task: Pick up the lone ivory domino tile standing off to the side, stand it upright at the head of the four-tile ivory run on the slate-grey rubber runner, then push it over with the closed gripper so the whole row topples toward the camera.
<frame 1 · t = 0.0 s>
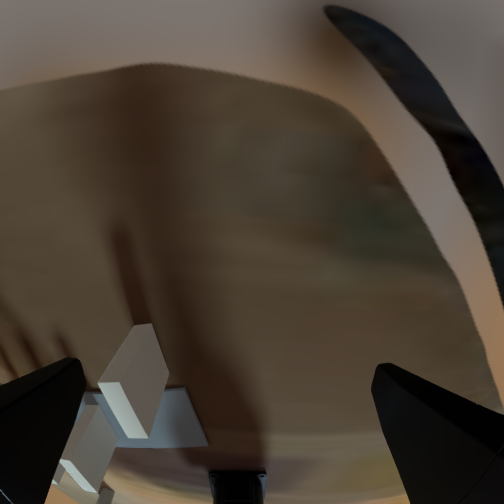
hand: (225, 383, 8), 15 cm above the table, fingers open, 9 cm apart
lighter: (105, 495, 31), on the table
tile 1: (102, 422, 26), resting on runner
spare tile: (152, 350, 24), on the table
runner: (73, 418, 26), on the table
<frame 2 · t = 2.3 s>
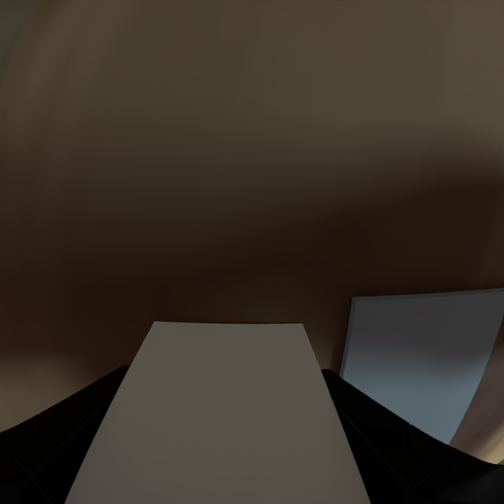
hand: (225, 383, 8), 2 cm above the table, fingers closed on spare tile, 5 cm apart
lighter: (503, 468, 16), on the table
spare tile: (227, 344, 10), on the table, touching gripper
runner: (362, 502, 14), on the table
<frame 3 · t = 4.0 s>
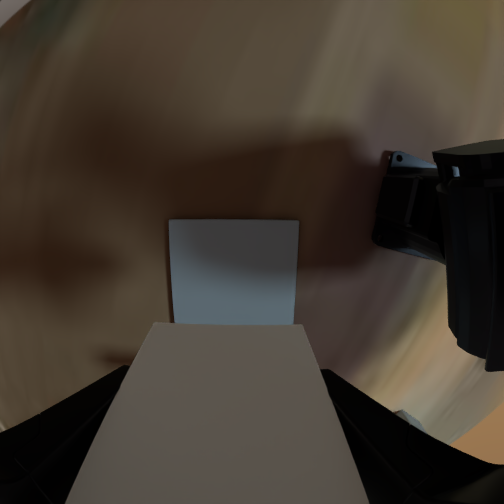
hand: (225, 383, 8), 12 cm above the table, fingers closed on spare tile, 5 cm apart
lighter: (410, 424, 25), on the table
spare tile: (227, 345, 10), point 10 cm above the table, touching gripper
runner: (234, 407, 23), on the table
when the fingers open (4 cm above the table, at t = 5.9 s): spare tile stays where it is, resting on runner.
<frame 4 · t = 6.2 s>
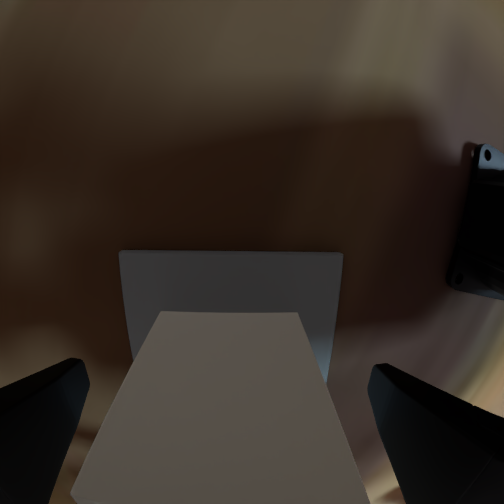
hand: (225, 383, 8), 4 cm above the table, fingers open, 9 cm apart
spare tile: (228, 332, 11), resting on runner
runner: (234, 490, 15), on the table
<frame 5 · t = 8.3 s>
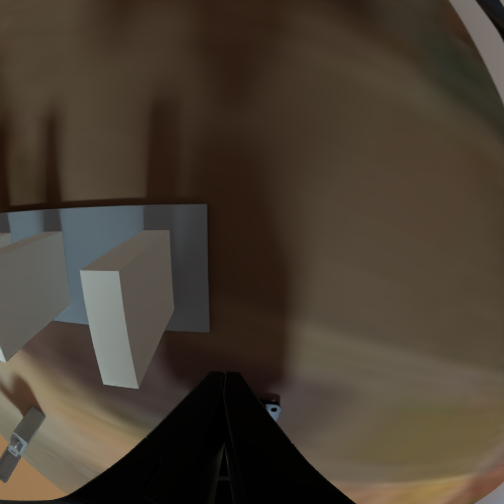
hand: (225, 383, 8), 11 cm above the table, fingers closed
lighter: (33, 423, 22), on the table
tile 1: (57, 268, 18), resting on runner
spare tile: (158, 271, 18), resting on runner
tile 2: (8, 265, 18), resting on runner
runner: (17, 265, 18), on the table
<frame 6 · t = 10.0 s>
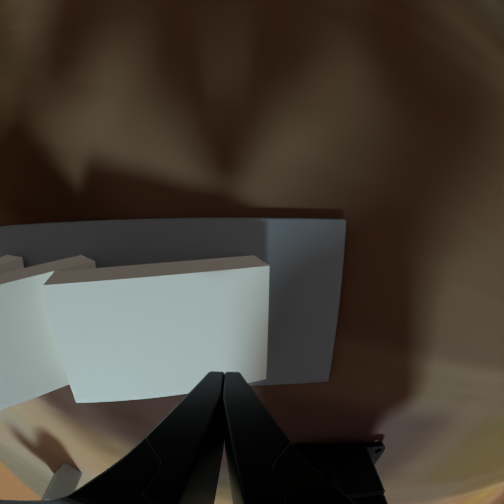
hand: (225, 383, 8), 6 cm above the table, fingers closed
lighter: (64, 476, 17), on the table
tile 1: (96, 312, 12), point 1 cm above the table, tilted 40°, touching runner, tile 2
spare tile: (260, 319, 12), point 1 cm above the table, tilted 72°, touching runner
tile 2: (23, 302, 13), point 1 cm above the table, tilted 16°, touching runner, tile 1
runner: (39, 300, 13), on the table
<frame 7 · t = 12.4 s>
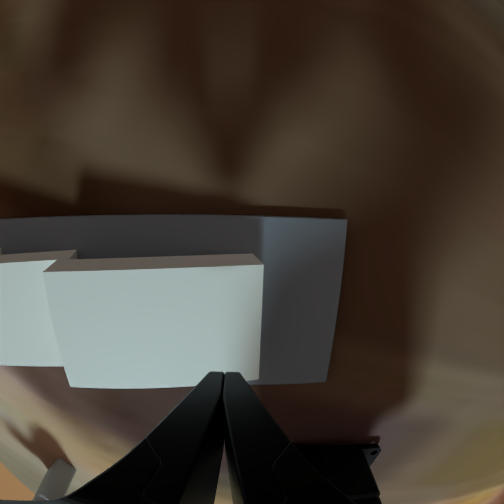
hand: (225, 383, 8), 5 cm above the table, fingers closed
lighter: (57, 472, 17), on the table
tile 1: (80, 308, 12), point 1 cm above the table, tilted 72°, touching runner, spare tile, tile 2
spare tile: (255, 318, 12), point 1 cm above the table, tilted 78°, touching runner, tile 1
runner: (36, 294, 13), on the table
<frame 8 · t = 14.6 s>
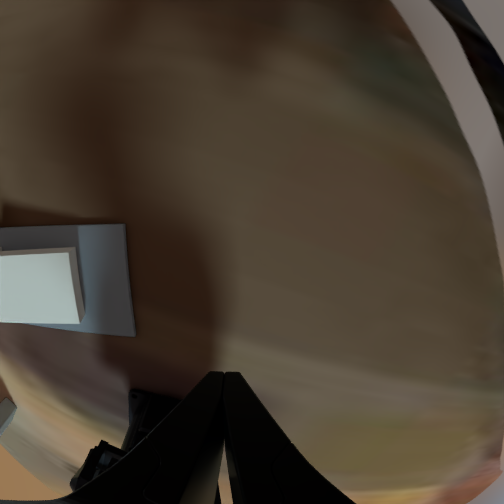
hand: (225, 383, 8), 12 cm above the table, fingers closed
lighter: (7, 413, 24), on the table
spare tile: (76, 285, 19), point 1 cm above the table, tilted 78°, touching runner, tile 1
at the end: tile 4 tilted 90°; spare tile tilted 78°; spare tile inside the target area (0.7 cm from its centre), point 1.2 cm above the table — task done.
